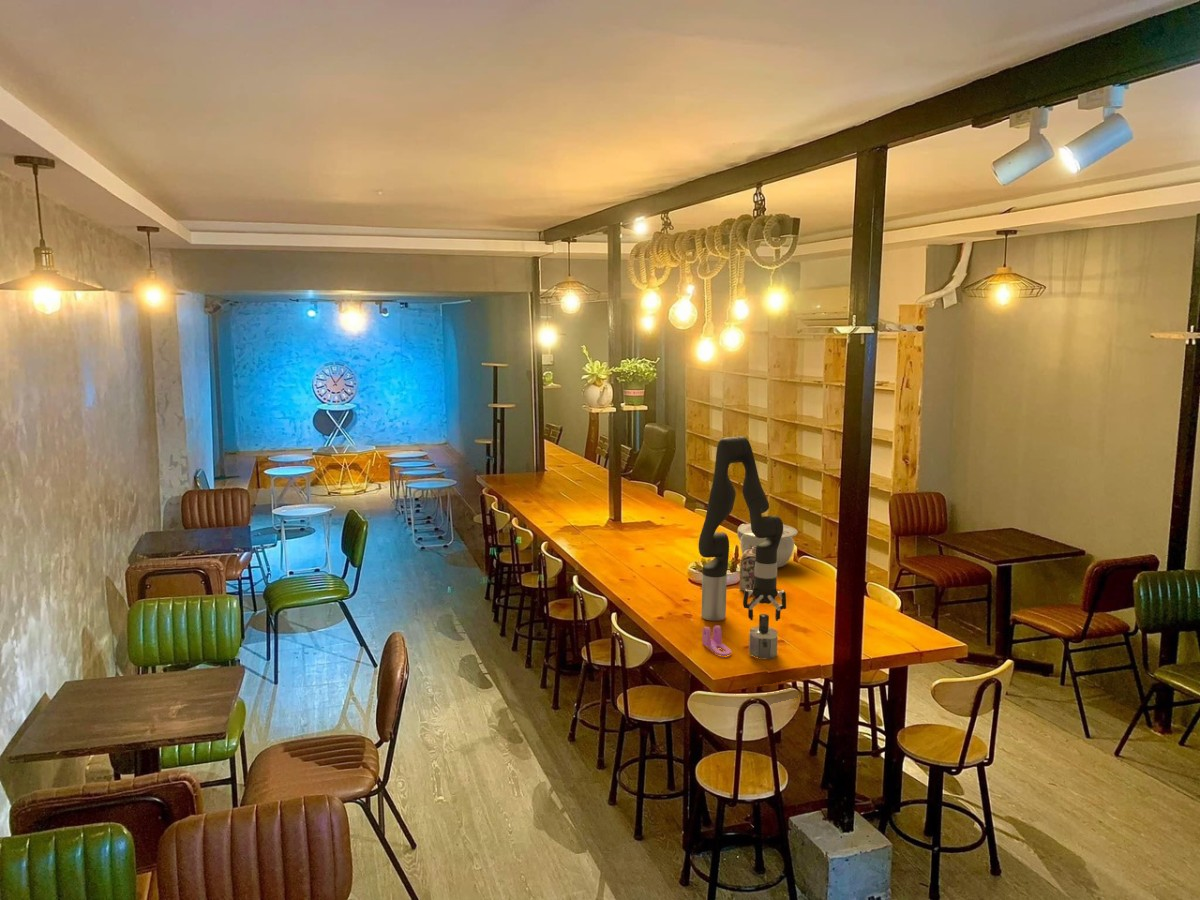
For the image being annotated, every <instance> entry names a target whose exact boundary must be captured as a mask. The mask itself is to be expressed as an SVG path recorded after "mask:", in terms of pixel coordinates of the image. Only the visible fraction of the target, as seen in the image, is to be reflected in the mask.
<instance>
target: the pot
mask: <svg viewBox="0 0 1200 900" xmlns="http://www.w3.org/2000/svg"><path fill="white" fill-rule="evenodd" d="M748 639H749V640H748V641H749V642H748V646H749V647H748V652H750V653H749V655H750V654H751V655H753V656H755V657H758V658H766V659H765V660H768V659H769V660H772V659H775V658H777V657H776V656H778V655H777V654H778V636H777V637H776V638H775V639H772V640H760V639H756V638H753V637H752V636H751V635H750V634H749V638H748ZM774 657H775V658H774ZM771 658H772V659H771Z"/></svg>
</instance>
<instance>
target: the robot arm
mask: <svg viewBox="0 0 1200 900" xmlns="http://www.w3.org/2000/svg"><path fill="white" fill-rule="evenodd" d="M715 454H716V455H715V464H714V472H713V479H712V484H711V488H710V493H709V498H708V503H707V508H706V509H707V510H706V514H705V518H704V522H703V525H702V528H701V532H700V535H699V540H698V553H699V555H700V556H701V557H703V558H705V559H706V558H713V559H712V560H711V561H709V562H708V563H705V564H704V565H703V566H702V573H701V574H702V575H701V576H702V579H701V580H702V581H701V618H702V619H704V620H705V621H706V620H707V621H711V622H712V621H713V622H717V621H718V622H719V621H723V620H725V619H726V616H727V615H726V613H727V611H726V610H727V576H728V568H729V557H730V556H729V555H730V540H729V537H728V534H727V533H725V532H723V531H720V532H716V531H717V529H718V527H719V526H721V524H722V523H723V522H724V521H725V520H726V519H727V517H729V516H730V514H731V513H732V511H733V510H734V505H735V501H736V496H737V495H736V489H735V486H734V485H733V482H732V480H731V479H730V477H729V467H730V465H731V464H737V463H738V464H739V463H741V464H742V465H743V467H744V471H745V472H744V479H743V481H742V482H743V484H742V488H741V489H742V496H743V500H744V502H745V503H746V506H747V508H748V512H749V520H750V522H749V523H751V530H752V533H753V534H754V535H755V536H756V537H757V538H766V540H765V541H764V542H762V543H760V544H758V545H757V546H756V561H755V568H754V589H753V591H752V590H747V589H745V590H744V591H743V598H742V599H743V601H742V605H743V608H744V609H747V611H748V612H747V613H748V614H747V616H748V617H747V618H748V619H749V620H750V621H754V620H753V619H754V610H753V609H754V608H755V607H756V606H757V605H758V603H759V604H767V605H769V604H772V605H773V606H774V607H775V617H774V619H775V621H776V622H778V621H779V620H780V619H781V611H782V610H786V609H787V593H786V591H785V590H784V589H781V590H777V586H778V585H777V583H778V581H777V580H778V568H777V549H778V546H779V543H780V540H781V537H782V533H783V524H784V523H783V521H782V518H780V516H778V515H768V516H763V515H762V514H764V513H766V512H768V510H769V509H770V503H769V501H768V498H767V496H766V493H765V492H764V488H763V486H762V484H761V483H762V482H761V481H760V478H759V472H758V469H757V464H756V460H755V456H754V453H753V448H752V446H751V443H750V441H749V439H748V438H747V437H745V436H728V437H724V438H721V439H719V441H718V443H717V447H716V453H715ZM751 595H752V596H753V598H752V600H751V601H750V603H749V602H748V601H749V598H750V597H751ZM777 596H779V598H781V604H779V603H778V601H777V600H776V598H777Z"/></svg>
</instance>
